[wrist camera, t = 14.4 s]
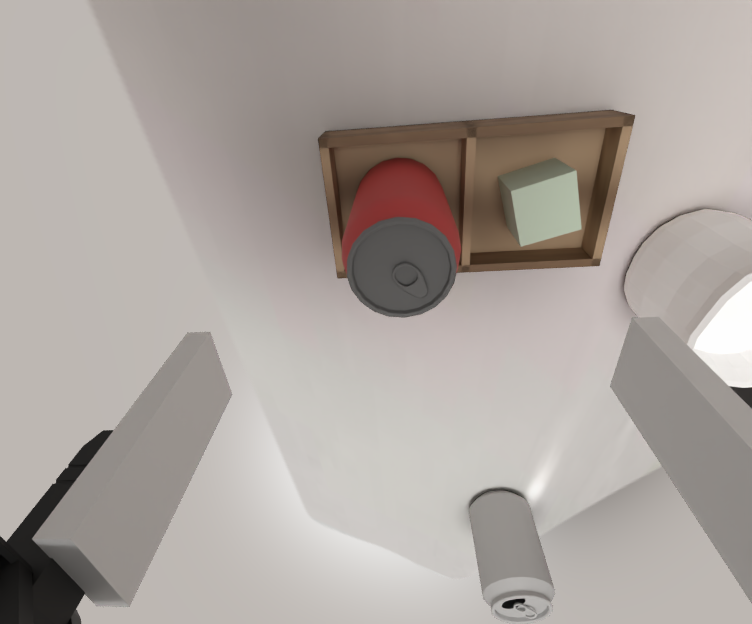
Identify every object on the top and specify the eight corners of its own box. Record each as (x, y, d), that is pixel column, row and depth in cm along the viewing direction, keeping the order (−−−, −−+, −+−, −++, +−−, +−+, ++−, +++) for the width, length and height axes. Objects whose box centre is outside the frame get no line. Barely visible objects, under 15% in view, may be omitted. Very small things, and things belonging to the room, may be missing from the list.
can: (494, 478, 49) (520, 588, 39) (540, 500, 51) (576, 610, 40) (455, 508, 52) (470, 616, 42) (500, 527, 54) (524, 635, 44)
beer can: (394, 258, 33) (394, 346, 23) (338, 197, 30) (308, 265, 20) (461, 205, 30) (493, 278, 20) (405, 135, 28) (410, 177, 18)
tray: (325, 131, 29) (318, 138, 26) (611, 110, 27) (635, 115, 25) (342, 261, 34) (337, 278, 32) (582, 248, 33) (599, 265, 30)
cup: (621, 328, 37) (687, 405, 28) (612, 230, 32) (688, 289, 24) (740, 296, 35) (848, 371, 26) (749, 186, 30) (885, 234, 21)
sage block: (497, 176, 29) (510, 191, 26) (554, 157, 28) (576, 170, 25) (507, 226, 31) (520, 246, 28) (560, 210, 30) (581, 229, 27)
